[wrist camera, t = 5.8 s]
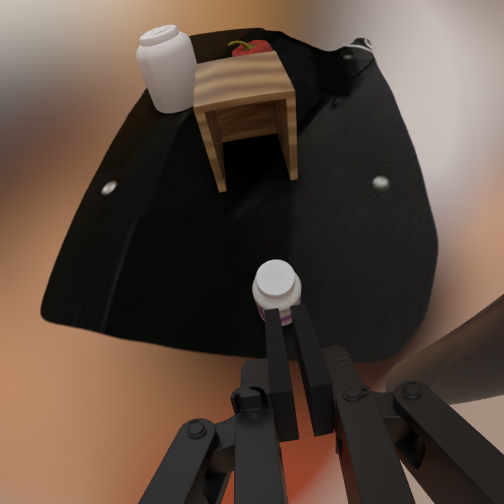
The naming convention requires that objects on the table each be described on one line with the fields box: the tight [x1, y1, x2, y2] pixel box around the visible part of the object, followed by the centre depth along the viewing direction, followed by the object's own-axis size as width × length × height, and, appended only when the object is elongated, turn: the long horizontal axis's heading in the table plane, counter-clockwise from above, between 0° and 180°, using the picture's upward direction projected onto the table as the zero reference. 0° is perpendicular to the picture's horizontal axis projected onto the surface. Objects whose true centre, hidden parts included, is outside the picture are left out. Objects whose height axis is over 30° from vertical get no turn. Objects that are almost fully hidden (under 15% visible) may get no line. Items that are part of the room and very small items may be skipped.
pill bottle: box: [253, 260, 301, 326], centre depth 35 cm, size 5×5×10 cm
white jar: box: [136, 25, 197, 113], centre depth 59 cm, size 12×12×20 cm
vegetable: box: [228, 40, 273, 57], centre depth 66 cm, size 11×10×10 cm
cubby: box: [193, 51, 298, 192], centre depth 46 cm, size 14×13×17 cm
